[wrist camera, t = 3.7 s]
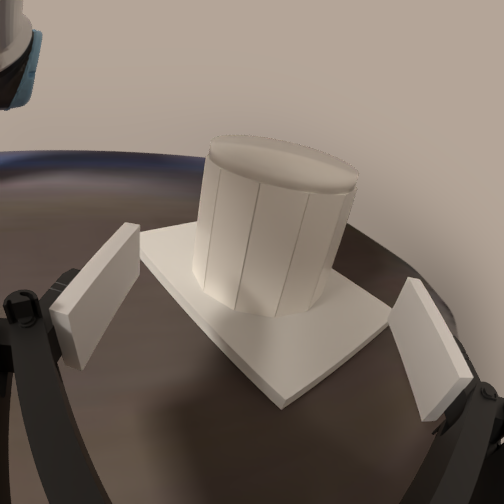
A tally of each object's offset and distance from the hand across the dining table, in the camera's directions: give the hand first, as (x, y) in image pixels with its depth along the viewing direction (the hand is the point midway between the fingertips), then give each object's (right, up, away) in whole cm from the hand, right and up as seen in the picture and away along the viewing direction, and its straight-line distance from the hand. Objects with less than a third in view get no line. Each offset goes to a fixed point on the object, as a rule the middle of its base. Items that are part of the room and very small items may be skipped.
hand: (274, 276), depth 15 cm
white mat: (-1, -1, +12) cm, 12 cm away
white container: (-1, -1, +12) cm, 12 cm away
